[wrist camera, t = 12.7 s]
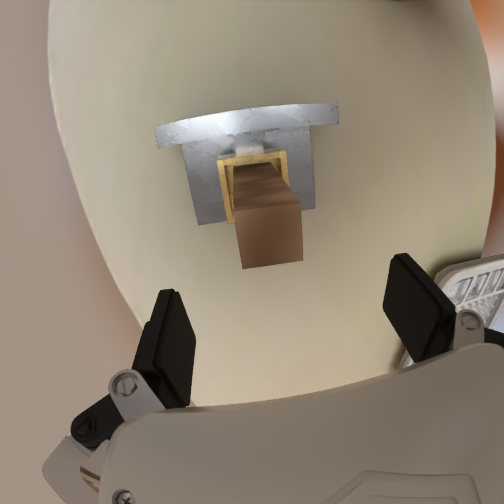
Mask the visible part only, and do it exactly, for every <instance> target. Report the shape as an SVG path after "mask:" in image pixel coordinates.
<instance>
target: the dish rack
mask: <svg viewBox="0 0 504 504" xmlns="http://www.w3.org/2000/svg"><path fill="white" fill-rule="evenodd" d="M434 282H435V283H436V284H437V285H438V287H439V288H440V289H441V290H442V291H443V292H444V293H445V295H446V296H447V297H448V298H449V299H450V300H451V302H452V303H453V304H454V305H455V306H456V309H455V311H456V312H457V313H458V312H459V311H460V310H463V309H470V310H473V311H475V312H476V313H478V314H479V315H480V316H481V318H482V319H483V322H484V327H486V328H489V329H492V327H493V325H494V324H495V322H496V320H497V318H498V316H499V314H500V312H501V310H502V308H503V306H504V254H500V255H495V256H490V257H486V258H481V259H476V260H471V261H467V262H462V263H458V264H454V265H450V266H447V267H446V268H444V269H443V270H442V271H439V272H438V273H437V274H436V276H435V279H434ZM414 364H416V363H414V362H413V360H412V359H411V357H410V355H409V353H408V351H407V350H406V351H405V353H404V355H403V357H402V359H401V361H400V364H399V367H398V368H399V369H402V368H405V367H408V366H411V365H414Z"/></svg>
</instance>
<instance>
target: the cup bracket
mask: <svg viewBox="0 0 504 504" xmlns="http://www.w3.org/2000/svg"><path fill="white" fill-rule="evenodd" d="M335 124H339V114H338V104H337V103H312V104H293V105H279V106H268V107H259V108H250V109H243V110H236V111H229V112H223V113H217V114H211V115H206V116H200V117H195V118H191V119H186V120H181V121H177V122H173V123H168V124H164V125H160V126H157V127H154V131H155V137H156V142H157V147H158V149H159V148H163V147H167V146H172V145H176V144H181V145H182V150H183V155H184V160H185V165H186V170H187V175H188V180H189V185H190V189H191V194H192V199H193V203H194V208H195V212H196V217H197V221H198V225H203V224H209V223H216V222H222V221H227V222H228V224H229V223H235V221H234V215H233V166H240V165H247V164H255V163H263V162H271V163H272V164H273V166H274V167H275V168H276V170H277V171H278V173H279V174H280V175H281V177H282V178H283V179H284V181H285V182H286V183H287V185H288V186H289V188H290V189H291V190H292V192H293V193H294V195H295V196H296V197H297V199H298V200H299V202H300V205H301V210H306V209H314V208H315V191H314V174H313V160H312V147H311V136H310V126H312V125H335Z"/></svg>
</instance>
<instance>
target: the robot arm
mask: <svg viewBox="0 0 504 504" xmlns="http://www.w3.org/2000/svg"><path fill="white" fill-rule="evenodd" d="M455 309H456V306H455V305H454V304H453V303H452V302H451V300H450V299H449V298H448V297H447V296H446V295H445V293H444V292H443V291H442V290H441V289H440V288H439V287H438V285H437V284H436V283H435V282H434V281H433V280H432V279H431V278H430V277H429V275H428V274H427V273H426V272H425V271H424V270H423V269H422V268H421V267H420V266H419V265H418V264H417V263H416V262H415V261H414V260H413V259H412V258H411V257H410V255H409V254H407V253H401V254H396V255H394V257H393V258H392V259H391V262H390V268H389V274H388V280H387V285H386V290H385V296H384V300H383V310H384V312H385V314H386V316H387V317H388V319H389V321H390V322H391V324H392V326H393V327H394V329H395V331H396V332H397V334H398V336H399V337H400V339H401V341H402V343H403V344H404V346H405V348H406V350H407V351H408V353H409V355H410V357H411V359H412V360H413V362H414V363H416V364H414V365H411V366H408V367H405V368H402V369H399V370H396V371H393V372H390V373H387V374H384V375H381V376H377V377H374V378H370V379H367V380H363V381H360V382H356V383H352V384H348V385H344V386H340V387H336V388H332V389H327V390H323V391H318V392H313V393H308V394H303V395H297V396H292V397H286V398H279V399H273V400H266V401H258V402H249V403H239V404H229V405H217V406H202V407H186V406H189V404H190V396H191V385H192V375H193V365H194V356H195V347H196V337H195V334H194V331H193V329H192V326H191V323H190V321H189V318H188V316H187V313H186V310H185V307H184V305H183V302H182V299H181V296H180V294H179V292H178V291H177V292H175V290H174V289H165V290H160V292H159V294H158V297H157V300H156V303H155V306H154V309H153V312H152V315H151V318H150V321H148V322H146V324H145V326H144V329H143V332H142V336H141V339H140V342H139V345H138V348H137V352H136V355H135V358H134V362H133V365H132V369H126V370H122V371H120V372H118V373H116V374H115V375H114V376H113V377H112V378H111V380H110V382H109V387H108V390H109V394H108V395H107V396H105V397H104V398H102V399H101V400H100V401H98V402H97V403H95V404H94V405H92V406H91V407H89V408H88V409H86V410H85V411H83V412H82V413H81V414H79V415H78V416H77V417H76V418H75V419H74V420H73V422H72V425H71V435H70V437H68V436H66V437H65V438H64V439H63V440H62V441H61V443H60V444H59V445H58V446H57V448H56V449H55V450H54V451H53V452H52V454H51V455H50V456H49V457H48V458H47V460H46V461H45V463H44V464H43V468H42V472H43V476H44V478H45V480H46V481H47V482H48V483H49V485H50V486H51V487H52V488H53V489H54V491H55V492H56V493H57V494H58V495H59V497H60V498H61V499H62V500H63V501H64V502H65V503H66V504H504V333H501V332H498V331H495V330H492V329H489V328H486V327H484V322H483V319H482V318H481V316H480V315H479V314H478V313H476V312H475V311H473V310H470V309H463V310H460V311H459V312H458V313H457V312H456V311H455Z"/></svg>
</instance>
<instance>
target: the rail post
mask: <svg viewBox="0 0 504 504" xmlns="http://www.w3.org/2000/svg"><path fill="white" fill-rule="evenodd" d="M233 215H234V221H235V227H236V233H237V239H238V245H239V250H240V256H241V262H242V268H243V269H248V268H255V267H262V266H269V265H276V264H283V263H289V262H296V261H303V243H302V222H301V205H300V202H299V200H298V199H297V197H296V196H295V195H294V193H293V192H292V190H291V189H290V188H289V186H288V185H287V183H286V182H285V181H284V179H283V178H282V177H281V175H280V174H279V173H278V171H277V170H276V168H275V167H274V166H273V164H272V163H271V162H263V163H255V164H247V165H240V166H233Z"/></svg>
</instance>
